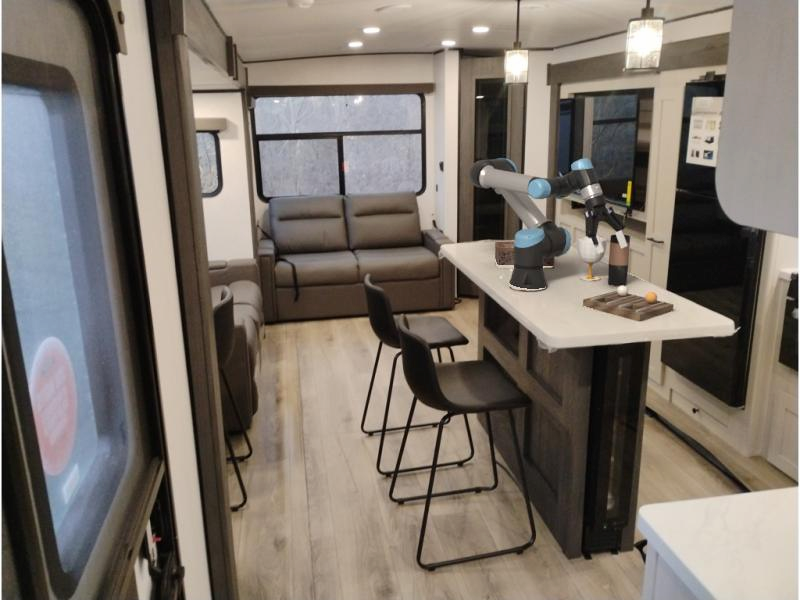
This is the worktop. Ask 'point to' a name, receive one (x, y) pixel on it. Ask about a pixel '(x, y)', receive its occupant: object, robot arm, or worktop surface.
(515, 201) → the robot arm
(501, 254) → the tissue box cover
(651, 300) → the orange ball
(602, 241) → the cup
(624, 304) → the hole deck
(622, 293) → the cream ball
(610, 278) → the travel mug
